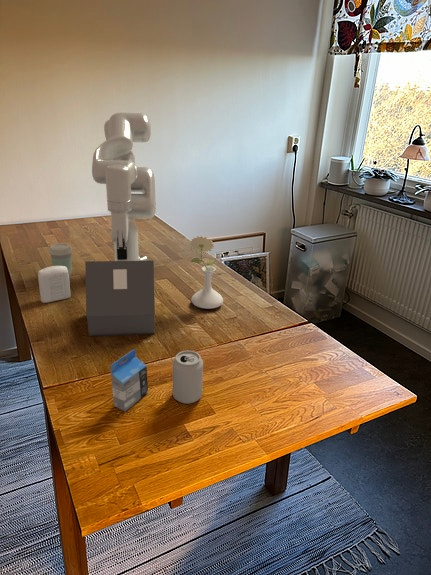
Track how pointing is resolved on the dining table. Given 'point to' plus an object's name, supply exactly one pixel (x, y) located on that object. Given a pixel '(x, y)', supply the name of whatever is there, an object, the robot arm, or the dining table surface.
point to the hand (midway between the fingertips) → (122, 258)
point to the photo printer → (54, 283)
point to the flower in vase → (207, 295)
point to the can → (187, 377)
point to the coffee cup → (61, 255)
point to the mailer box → (120, 325)
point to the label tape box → (128, 381)
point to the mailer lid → (119, 288)
